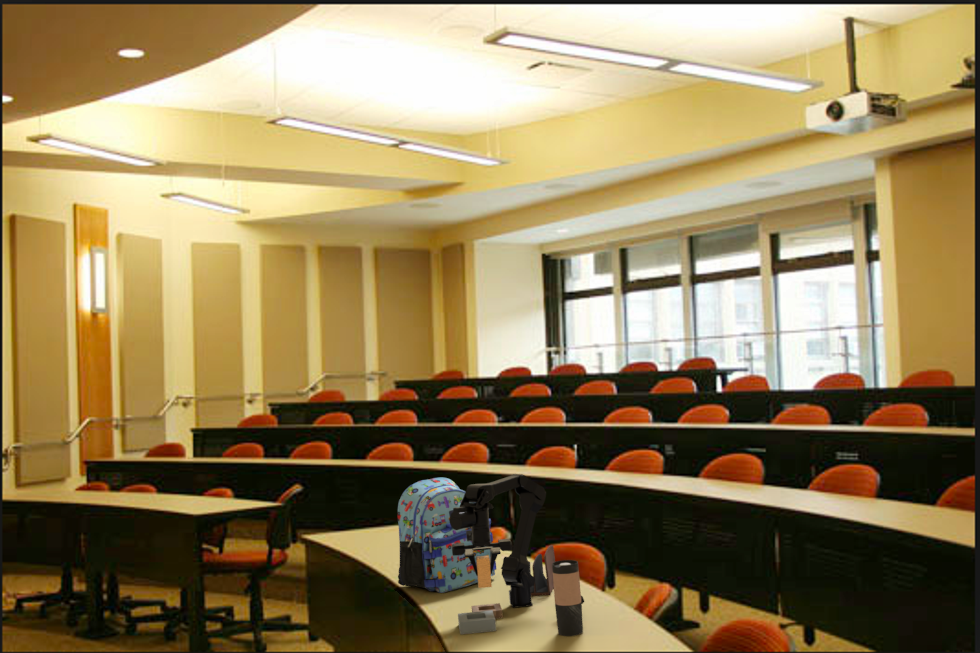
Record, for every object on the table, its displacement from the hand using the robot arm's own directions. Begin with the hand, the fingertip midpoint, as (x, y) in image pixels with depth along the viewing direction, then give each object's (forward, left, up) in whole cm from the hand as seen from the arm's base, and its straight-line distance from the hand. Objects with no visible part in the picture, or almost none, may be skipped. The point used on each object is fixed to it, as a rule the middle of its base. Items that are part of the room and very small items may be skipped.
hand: (483, 574), depth 317 cm
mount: (0, 0, -13) cm, 13 cm away
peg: (0, 0, -4) cm, 4 cm away
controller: (-25, +14, -13) cm, 32 cm away
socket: (+4, +13, -13) cm, 19 cm away
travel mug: (-22, +28, -13) cm, 38 cm away
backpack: (+10, -53, -13) cm, 55 cm away
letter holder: (-20, -30, -13) cm, 39 cm away
